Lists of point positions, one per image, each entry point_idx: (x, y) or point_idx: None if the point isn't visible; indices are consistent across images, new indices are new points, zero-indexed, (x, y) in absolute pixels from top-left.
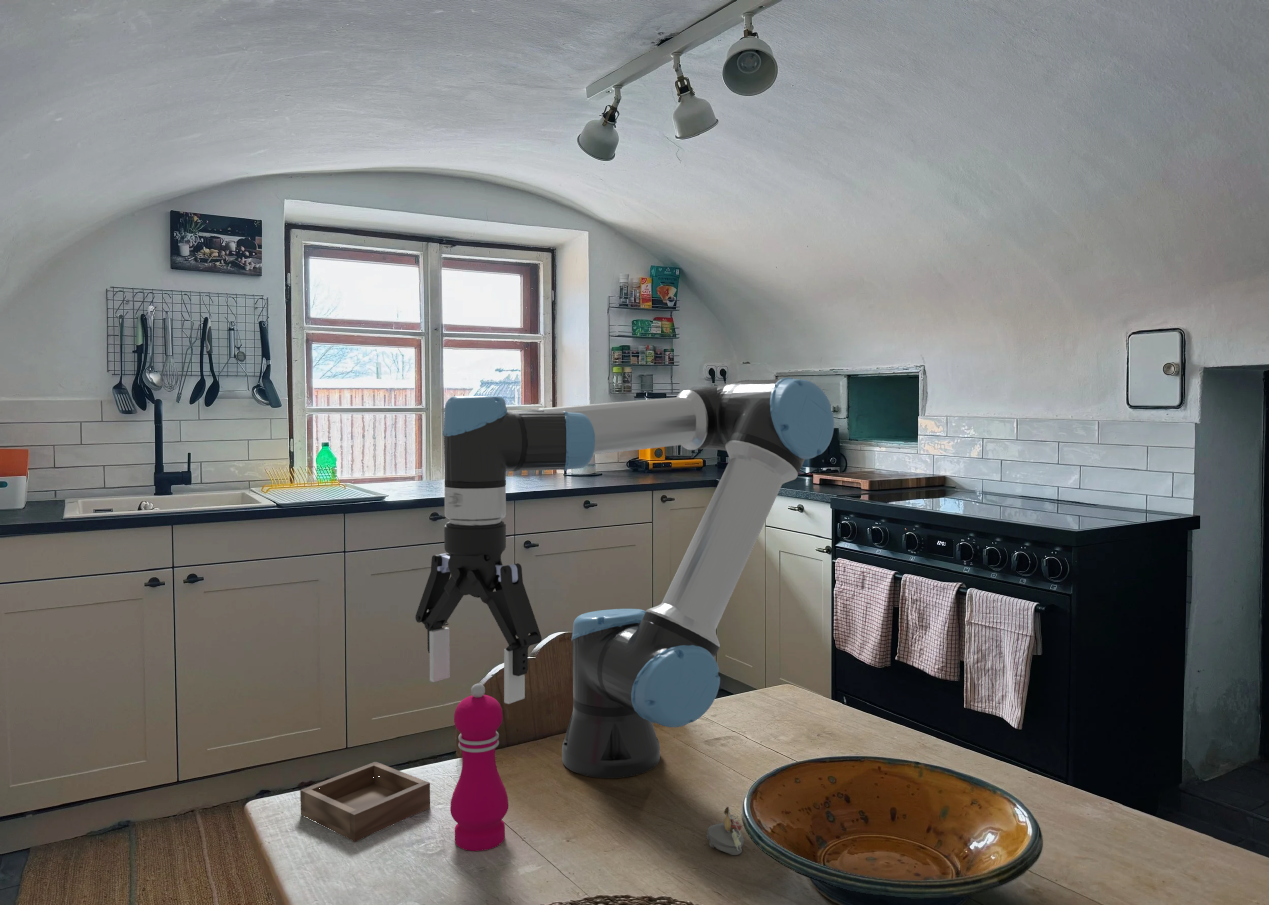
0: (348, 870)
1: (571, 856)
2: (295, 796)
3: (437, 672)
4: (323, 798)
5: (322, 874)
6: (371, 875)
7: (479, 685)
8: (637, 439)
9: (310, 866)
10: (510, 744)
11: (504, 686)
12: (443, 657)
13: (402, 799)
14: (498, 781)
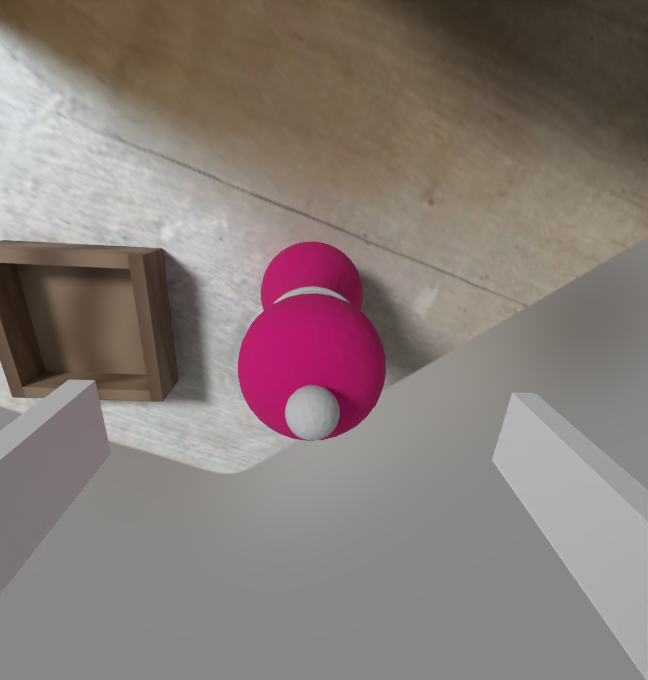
0: (237, 423)
1: (461, 240)
2: None
3: (87, 461)
4: None
5: (221, 442)
6: None
7: (325, 430)
8: None
9: (193, 440)
10: None
11: (526, 506)
12: (34, 479)
13: (155, 315)
14: (349, 292)
